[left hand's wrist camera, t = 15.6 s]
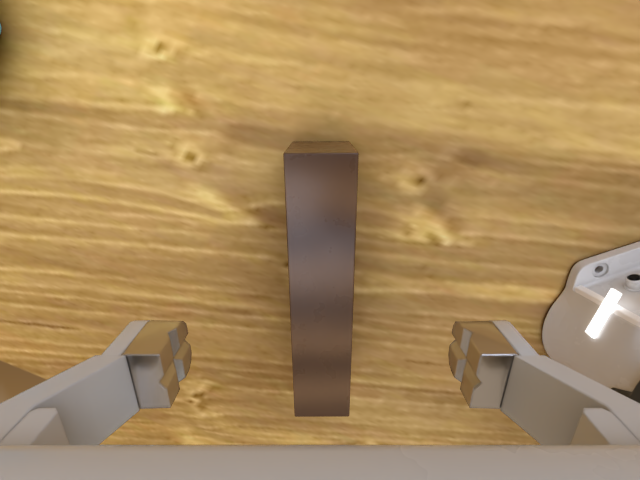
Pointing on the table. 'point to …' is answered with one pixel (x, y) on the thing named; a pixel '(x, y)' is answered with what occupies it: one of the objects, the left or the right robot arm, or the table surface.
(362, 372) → the table surface
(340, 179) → the bar
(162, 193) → the table surface
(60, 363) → the table surface
